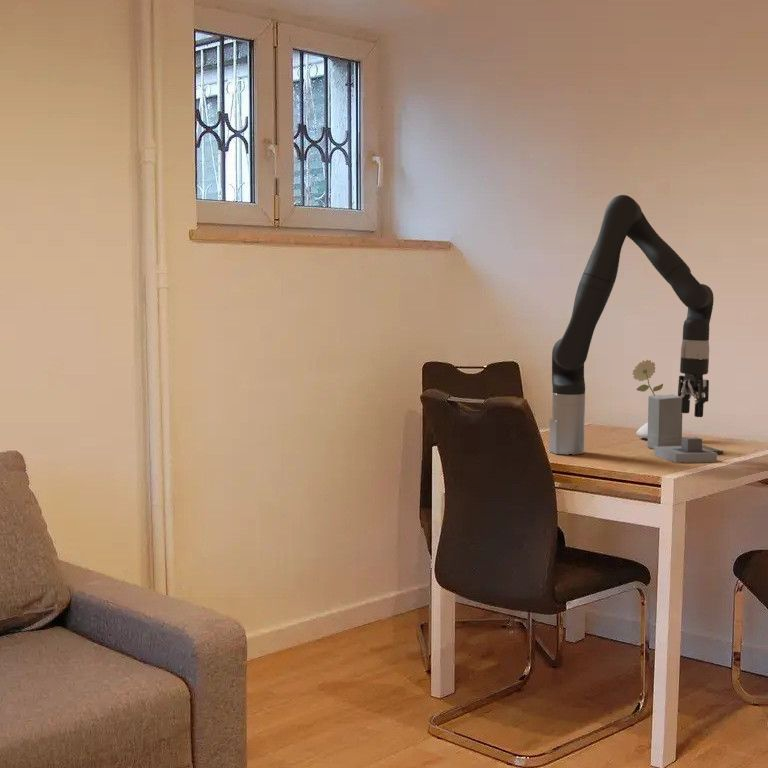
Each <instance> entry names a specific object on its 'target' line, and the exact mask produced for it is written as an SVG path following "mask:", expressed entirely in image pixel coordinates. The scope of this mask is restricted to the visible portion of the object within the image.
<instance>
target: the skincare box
mask: <svg viewBox="0 0 768 768" xmlns="http://www.w3.org/2000/svg"><path fill="white" fill-rule="evenodd" d="M659 395H660V396H648V395H647V396H648V397H647V398H648V403H647V404H648V405H647V406H648V409H647V422H648V439H647V448H648V449H651V448H652V450H654V449H655V447H661V446H681V443H682V437H683V413H682V412H681V402H682V399H680V396H678V395H675V394H663V395H662V394H659Z"/></svg>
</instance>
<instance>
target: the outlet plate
mask: <svg viewBox="0 0 768 768" xmlns="http://www.w3.org/2000/svg"><path fill="white" fill-rule="evenodd" d="M653 450H654V449H653ZM653 456H656V457H658V456H659V457H660V458H662V459H664V460H667V461H669V460H670V462H672V461H673V462H672V463H676V464H677V463H679V464H681V462H687V463H712V462H713V463H715V462H716V463H717V461H718V455H717V453H715V452H712V451H709V450H706V449H703V448H702V452H685V451H682V450H681V446H661V447H655V450H654V454H653Z"/></svg>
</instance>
